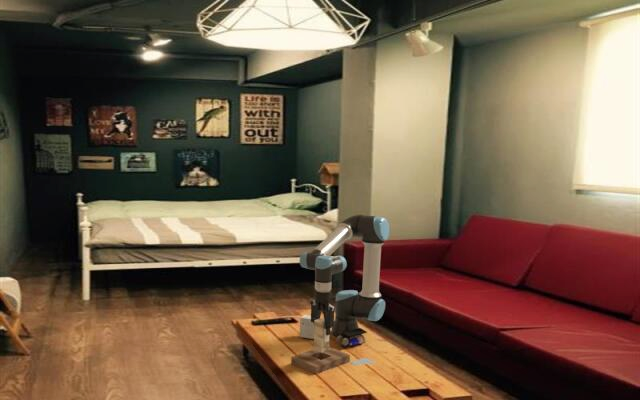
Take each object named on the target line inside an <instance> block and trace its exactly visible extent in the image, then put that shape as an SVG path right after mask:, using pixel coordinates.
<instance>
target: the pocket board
mask: <svg viewBox="0 0 640 400" xmlns="http://www.w3.org/2000/svg"><path fill="white" fill-rule="evenodd" d="M290 358H291V359H290V363H291V366H294V367H297V368H299V369H301V370H304V371H307V372H309V373H312V374H314V375H319V374H321V373H324V372H326V370H327V371H329V369H330V370H332V369H335V368H337V367H340V366H343V365H346V364H350V363H351V361H350V360H351V355H350V354H349V353H346V352H345V351H344V352H343V351H341V350H339V349H336V348H332V347H330V346H329V350H328V351H325V352H323V353H321V352H318V351H316V350H314V348H313V349H311V350H307V351H304V352H301V353H299V354H296V355H292V356H291V357H290ZM320 359H321V360H320ZM323 371H324V372H323Z"/></svg>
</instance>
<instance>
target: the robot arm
mask: <svg viewBox="0 0 640 400" xmlns="http://www.w3.org/2000/svg"><path fill="white" fill-rule="evenodd" d="M389 236H390V225H389V222H388V220H387V218H385V217H381V216H375V215H365V214H364V215H363V214H355V215H352V216H349V217H347V218H345V219H344V220H342V221H341V222H340V223H338V224H337V225H336V228H335V230H334V231H333V232H331V233H330V234H329V235H328V236H327V237H326V238H324V240H322V242H320V243H319V244H318V245H317V246H316V247H315V248H314V249H313V250H311V251H310V252H307V251H306V252H302V253H301V255H300V257H299V265H300V267H301V268H305V269H308V270H313V271H314V275H315V276H314V278H315V279H314V300H310V316H311V322H313V323H314V320H317V319H320V318H321V315H322V314H323V318H324V321H325V328H324V342H328V341H329V335H330V334H331V335H332V336H334V337H336V338H337V337H338V336H342V332H346V331H349V330H353V329H357V328H360V327H359V323H358V319H362V320H368V321H370V322H371V321H373V322H377V321H379V320H380V319H382V317H383V315H384V312H385V310H386V301H385V300H384V299H382V294H381V292H380V273H381V257H382V255H381V254H382V246H383V245H384V244H385V241H387V240H388V239H389ZM354 237H355V238H356V237H358V238H361V243H362V244H363V245H364V250H363V251H364V252H363V267H362V268H363V269H362V289H361V291H360V292H358V290H354V289H349V290H348V289H347V290H345V289H344V290H341V291H338V292H337V293H336V295H335V300H334V301H335V306H334V305H332V304H331V300H332V279H333V278H332V277H333V275H336V274H340V273H341V272H343V271H345V270H346V268H347V266H348V264H347V260H346V258H345V257H344V256H342V255H336V256H332V254H333V253H335V251H336V250H337V249H339V248H340V247H341V246H342V245H343V244H344V243H345V242H346V241H349V240H351V239H352V238H354ZM313 318H314V319H313ZM357 318H358V319H357ZM331 335H330V336H331ZM354 337H356V336H353V337H350V339H351V338H354ZM329 342H330V341H329Z"/></svg>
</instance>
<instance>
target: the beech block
mask: <svg viewBox="0 0 640 400" xmlns="http://www.w3.org/2000/svg"><path fill="white" fill-rule="evenodd" d="M324 328H325V321H324V317H320V319H317V320H314V339H313V349H314V350H316V351H318V352H321V353H323V352H325V351H328V350H329V347H330V336H331V335H329V341H328V342H324Z"/></svg>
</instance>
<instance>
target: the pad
mask: <svg viewBox="0 0 640 400" xmlns="http://www.w3.org/2000/svg"><path fill="white" fill-rule="evenodd" d="M377 363H378V362H376V361H374V360H371V359H368V358H366V357H362V358H359V359H357V360H354V361H350V364H352V365H354V366H356V365H357V366H359V365H367V364H369V365H370V364H377Z"/></svg>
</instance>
